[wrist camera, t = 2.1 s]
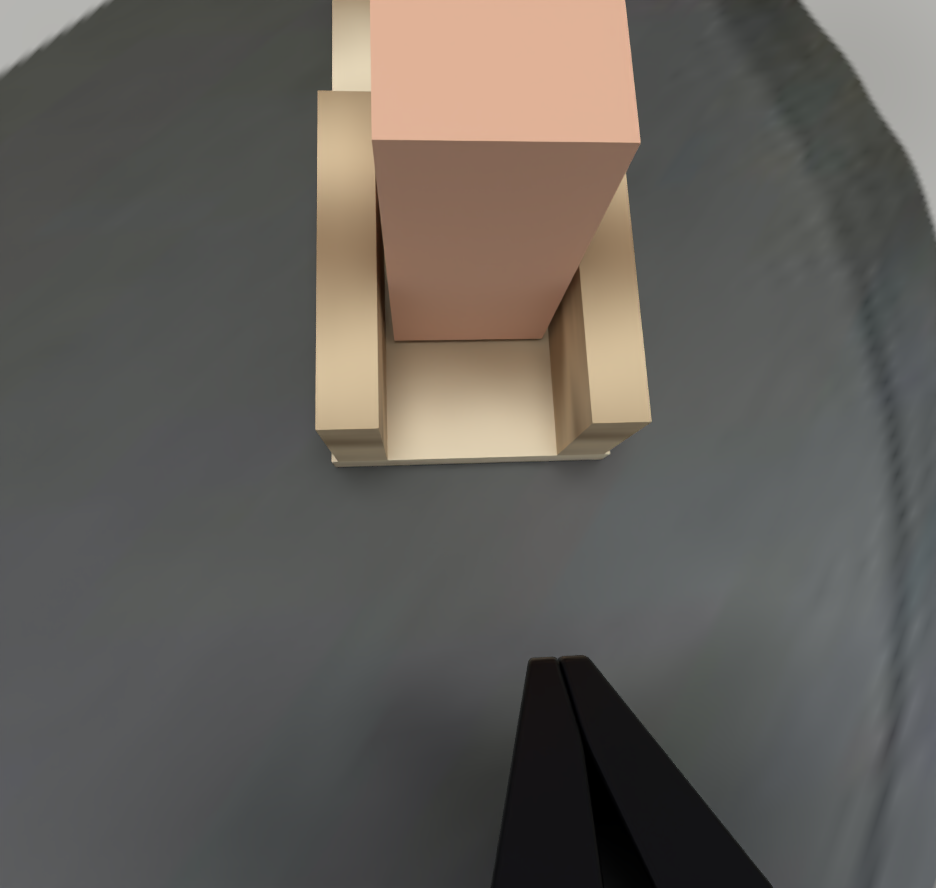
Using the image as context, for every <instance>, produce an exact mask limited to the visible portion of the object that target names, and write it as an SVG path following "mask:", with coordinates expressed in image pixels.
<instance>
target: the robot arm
mask: <svg viewBox="0 0 936 888" xmlns="http://www.w3.org/2000/svg"><path fill="white" fill-rule="evenodd" d="M491 888H773V887H772V885H771V884H770V882H769V881H768V880H767V879H766V877H765V876H764V875H763V874H762V872H761V871H760V870H759V869H758V868H757V866H756V865H755V864H754V863H753V861H752V860H751V859H750V858H749V856H748V855H747V854H746V853H745V851H744V850H743V849H742V848H741V846H740V845H739V844H738V843H737V841H736V840H735V839H734V838H733V836H732V835H731V834H730V833H729V831H728V830H727V829H726V828H725V826H724V825H723V824H722V823H721V821H720V820H719V819H718V818H717V817H716V815H715V814H714V813H713V812H712V810H711V809H710V808H709V807H708V805H707V804H706V803H705V802H704V800H703V799H702V798H701V797H700V795H699V794H698V793H697V792H696V790H695V789H694V788H693V787H692V785H691V784H690V783H689V782H688V780H687V779H686V778H685V777H684V775H683V774H682V773H681V772H680V770H679V769H678V768H677V767H676V765H675V764H674V763H673V762H672V761H671V759H670V758H669V757H668V756H667V754H666V753H665V752H664V751H663V749H662V748H661V747H660V746H659V744H658V743H657V742H656V741H655V739H654V738H653V737H652V736H651V734H650V733H649V732H648V731H647V729H646V728H645V727H644V726H643V724H642V723H641V722H640V721H639V719H638V718H637V717H636V716H635V714H634V713H633V712H632V711H631V710H630V708H629V707H628V706H627V705H626V703H625V702H624V701H623V700H622V698H621V697H620V696H619V695H618V693H617V692H616V691H615V690H614V688H613V687H612V686H611V685H610V683H609V682H608V681H607V680H606V678H605V677H604V676H603V675H602V673H601V672H600V671H599V670H598V668H597V667H596V666H595V665H594V663H593V662H592V661H591V660H590V659H589V658H588V657H586V656H584V655H575V656H562V657H560V658H559V659H558V660H557V659H556V658H555V657H538V658H531V659H530V660H529V661H528V666H527V672H526V678H525V684H524V690H523V696H522V702H521V708H520V714H519V720H518V726H517V732H516V738H515V744H514V750H513V756H512V762H511V768H510V774H509V780H508V786H507V792H506V798H505V804H504V810H503V816H502V822H501V829H500V835H499V841H498V847H497V853H496V859H495V865H494V871H493V877H492V883H491Z"/></svg>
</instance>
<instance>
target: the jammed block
mask: <svg viewBox="0 0 936 888" xmlns="http://www.w3.org/2000/svg"><path fill="white" fill-rule="evenodd" d="M370 46H371V124H372V147H373V156H374V165H375V173H376V182H377V191H378V200H379V209H380V218H381V227H382V236H383V245H384V253H385V262H386V271H387V280H388V289H389V298H390V307H391V316H392V324H393V333H394V341H408V340H482V339H542V338H543V336H544V334H545V332H546V330H547V328H548V326H549V324H550V322H551V320H552V318H553V316H554V314H555V312H556V310H557V308H558V306H559V304H560V302H561V300H562V298H563V296H564V294H565V292H566V290H567V288H568V286H569V284H570V282H571V280H572V278H573V276H574V274H575V272H576V270H577V268H578V266H579V264H580V262H581V260H582V258H583V256H584V254H585V252H586V250H587V248H588V246H589V244H590V242H591V240H592V238H593V236H594V234H595V232H596V230H597V228H598V226H599V224H600V222H601V220H602V218H603V216H604V215H605V213H606V211H607V209H608V207H609V205H610V203H611V201H612V199H613V197H614V195H615V193H616V191H617V189H618V187H619V185H620V183H621V181H622V179H623V177H624V175H625V173H626V171H627V169H628V167H629V165H630V163H631V161H632V159H633V157H634V155H635V153H636V151H637V149H638V147H639V145H640V143H641V141H640V132H639V123H638V114H637V105H636V96H635V87H634V78H633V69H632V60H631V50H630V41H629V32H628V23H627V14H626V5H625V0H370Z"/></svg>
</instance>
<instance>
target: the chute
mask: <svg viewBox="0 0 936 888" xmlns="http://www.w3.org/2000/svg"><path fill="white" fill-rule="evenodd" d="M651 422H652V421H651V411H650V401H649V392H648V382H647V372H646V363H645V353H644V343H643V334H642V324H641V315H640V305H639V295H638V286H637V276H636V266H635V257H634V247H633V237H632V228H631V218H630V208H629V199H628V189H627V179H626V173H625V175H624V177H623V179H622V181H621V183H620V185H619V187H618V189H617V191H616V193H615V195H614V197H613V199H612V201H611V203H610V205H609V207H608V209H607V211H606V213H605V215H604V216H603V218H602V220H601V222H600V224H599V226H598V228H597V230H596V232H595V234H594V236H593V238H592V240H591V242H590V244H589V246H588V248H587V250H586V252H585V254H584V256H583V258H582V260H581V262H580V264H579V266H578V268H577V270H576V272H575V274H574V276H573V278H572V280H571V282H570V284H569V286H568V288H567V290H566V292H565V294H564V296H563V298H562V300H561V302H560V304H559V306H558V308H557V310H556V312H555V314H554V316H553V318H552V320H551V322H550V324H549V326H548V328H547V330H546V332H545V334H544V336H543V338H542V339H482V340H408V341H394V333H393V324H392V316H391V307H390V298H389V289H388V280H387V271H386V262H385V253H384V245H383V236H382V227H381V218H380V209H379V200H378V191H377V182H376V173H375V165H374V156H373V147H372V124H371V46H370V0H332V91H318V143H317V289H316V431H317V433H318V434H319V436H320V437H321V438H322V440H323V441H324V443H325V444H326V445H327V447H328V448H329V450H330V451H331V452H332V463H333V464H334V465H335V467H354V466H389V465H424V464H458V463H493V462H528V461H562V460H597V459H603V458H605V457H606V456H608V455H609V454H610V450H611V449H612V448H614V447H615V446H617V445H618V444H620V443H621V442H623V441H624V440H626V439H627V438H629V437H630V436H631V435H633V434H634V433H636V432H637V431H639V430H640V429H642V428H643V427H645V426H646V425H648V424H649V423H651Z"/></svg>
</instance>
